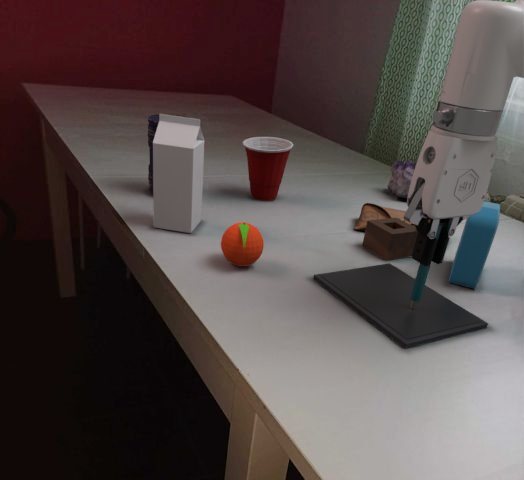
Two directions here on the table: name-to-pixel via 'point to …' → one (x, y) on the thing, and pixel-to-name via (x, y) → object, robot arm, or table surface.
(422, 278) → the stylus
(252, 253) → the clementine
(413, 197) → the robot arm
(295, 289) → the table surface
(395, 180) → the geode
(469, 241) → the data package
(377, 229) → the pen stand
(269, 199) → the plastic cup
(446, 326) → the tablet
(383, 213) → the sunglasses case
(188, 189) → the milk carton
